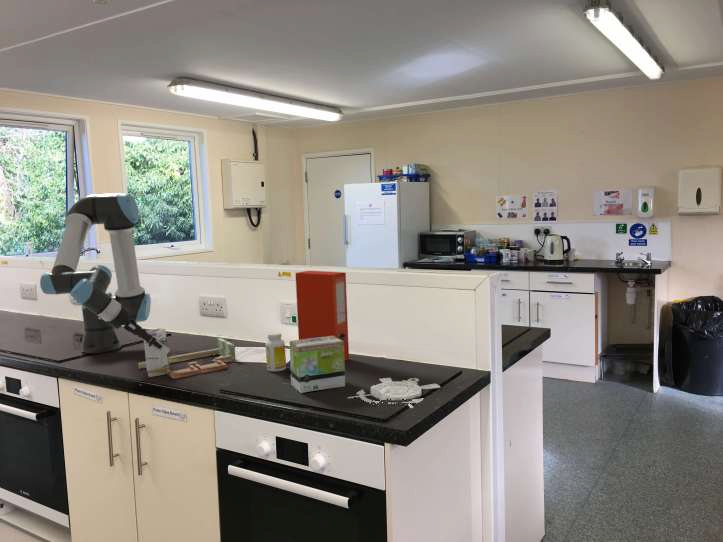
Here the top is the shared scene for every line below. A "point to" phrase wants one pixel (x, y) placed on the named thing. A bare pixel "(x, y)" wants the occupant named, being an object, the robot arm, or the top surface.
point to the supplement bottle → (275, 352)
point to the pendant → (396, 391)
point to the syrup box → (156, 351)
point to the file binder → (322, 306)
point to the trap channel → (193, 368)
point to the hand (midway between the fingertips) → (162, 349)
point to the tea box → (317, 363)
